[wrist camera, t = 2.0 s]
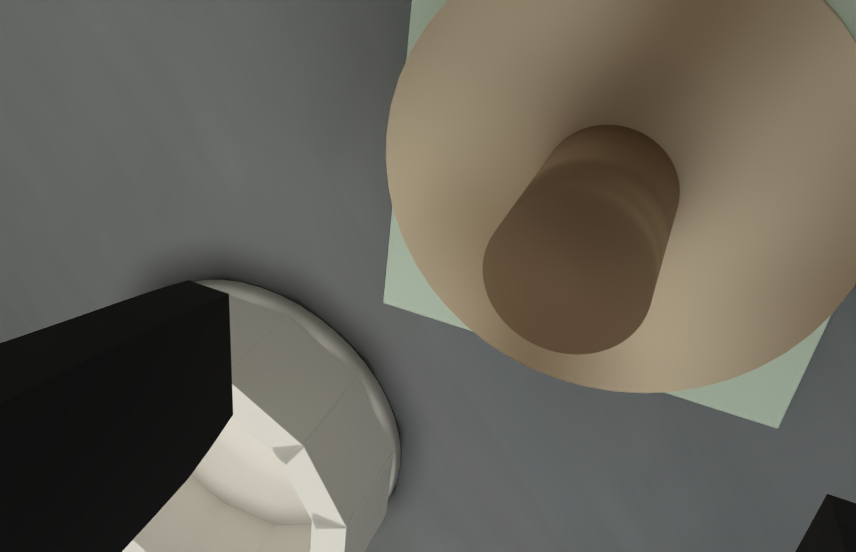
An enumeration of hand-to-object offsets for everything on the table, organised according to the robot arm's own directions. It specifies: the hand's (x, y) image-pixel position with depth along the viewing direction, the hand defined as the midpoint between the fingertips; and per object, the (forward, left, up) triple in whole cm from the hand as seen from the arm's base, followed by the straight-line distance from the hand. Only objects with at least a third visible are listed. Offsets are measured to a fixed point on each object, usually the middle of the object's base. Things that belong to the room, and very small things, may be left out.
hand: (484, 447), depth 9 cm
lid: (0, 0, -9) cm, 9 cm away
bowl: (+9, +11, -9) cm, 17 cm away
